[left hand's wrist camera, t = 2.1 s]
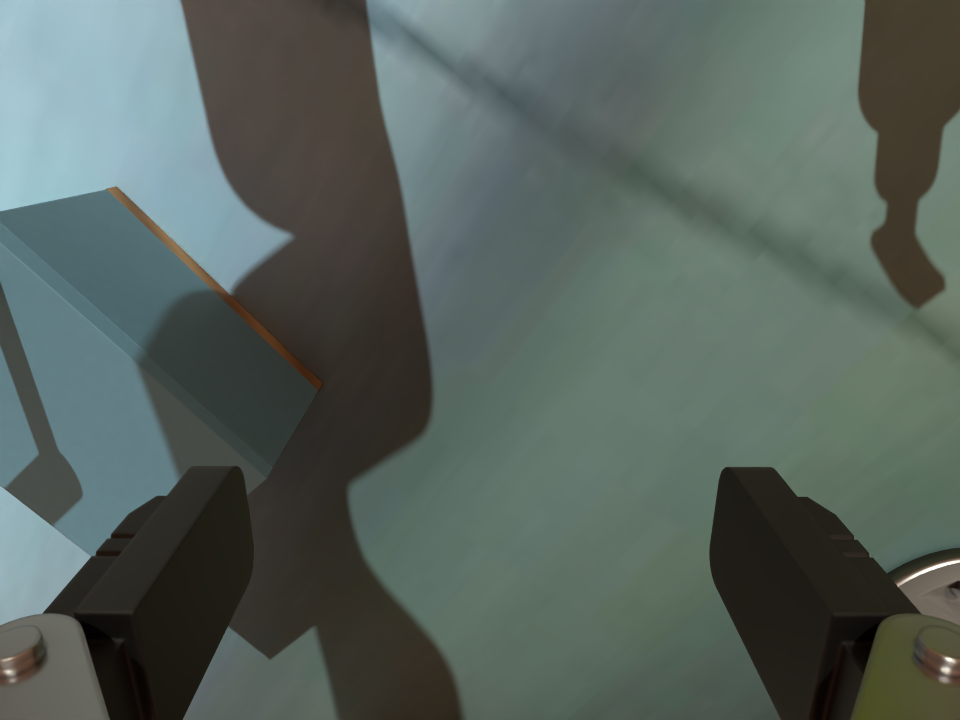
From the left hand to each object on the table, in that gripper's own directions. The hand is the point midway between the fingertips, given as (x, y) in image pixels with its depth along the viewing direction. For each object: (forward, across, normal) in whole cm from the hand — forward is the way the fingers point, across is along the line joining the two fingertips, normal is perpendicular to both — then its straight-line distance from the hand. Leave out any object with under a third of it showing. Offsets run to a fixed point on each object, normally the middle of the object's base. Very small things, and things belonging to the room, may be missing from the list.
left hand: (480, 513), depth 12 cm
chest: (+28, +18, +6) cm, 34 cm away
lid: (+18, +18, +6) cm, 26 cm away
